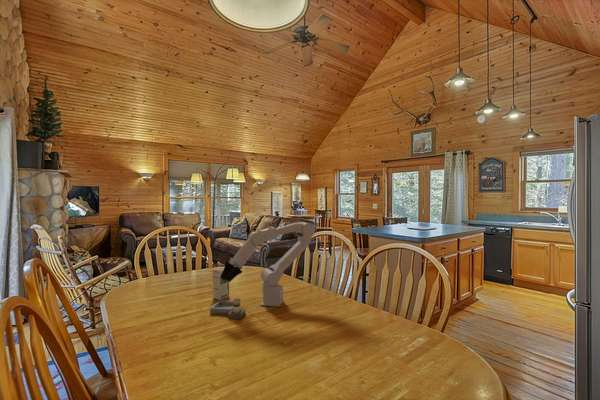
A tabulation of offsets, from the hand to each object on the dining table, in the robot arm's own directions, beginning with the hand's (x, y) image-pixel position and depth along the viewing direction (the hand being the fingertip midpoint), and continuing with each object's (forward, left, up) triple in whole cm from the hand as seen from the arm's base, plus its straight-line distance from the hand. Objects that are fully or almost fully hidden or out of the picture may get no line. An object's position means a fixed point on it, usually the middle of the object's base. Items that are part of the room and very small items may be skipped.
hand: (224, 279), depth 137 cm
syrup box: (+10, -16, -14) cm, 24 cm away
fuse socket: (-7, +5, -14) cm, 16 cm away
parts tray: (0, 0, -14) cm, 14 cm away
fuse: (-7, +5, -14) cm, 16 cm away
